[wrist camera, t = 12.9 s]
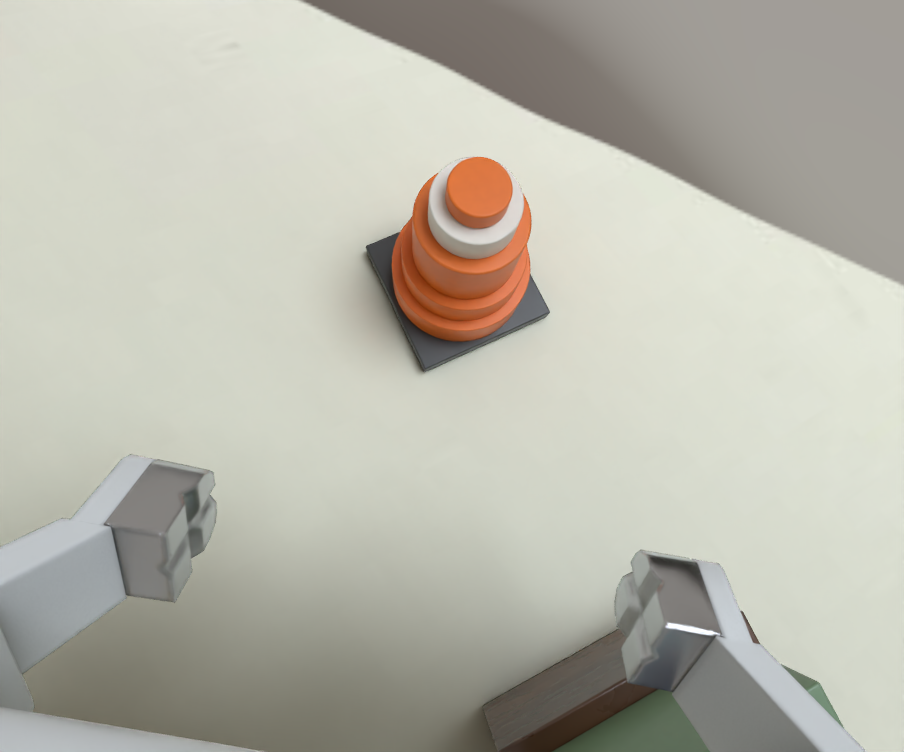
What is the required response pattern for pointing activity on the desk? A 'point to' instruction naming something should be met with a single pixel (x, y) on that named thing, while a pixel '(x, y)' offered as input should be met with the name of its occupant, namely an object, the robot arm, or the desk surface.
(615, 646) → the bottom block
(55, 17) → the desk surface
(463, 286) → the cone
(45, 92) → the desk surface
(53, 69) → the desk surface
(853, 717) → the desk surface
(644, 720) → the green block
